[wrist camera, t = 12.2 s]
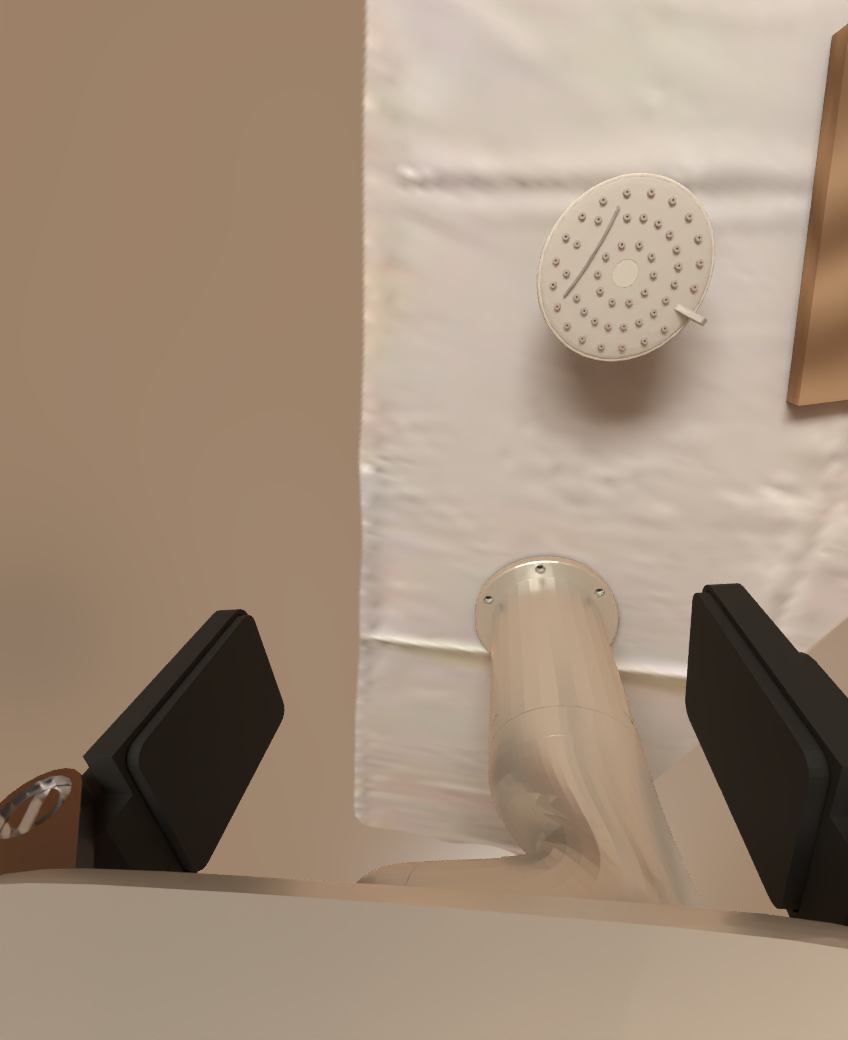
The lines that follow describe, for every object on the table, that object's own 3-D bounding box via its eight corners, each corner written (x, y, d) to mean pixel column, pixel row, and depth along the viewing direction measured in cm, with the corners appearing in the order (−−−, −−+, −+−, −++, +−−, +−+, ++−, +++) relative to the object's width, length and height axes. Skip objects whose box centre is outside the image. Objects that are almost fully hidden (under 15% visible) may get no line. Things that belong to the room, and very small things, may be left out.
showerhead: (650, 398, 29) (506, 311, 28) (622, 379, 35) (505, 308, 34) (774, 236, 25) (610, 128, 24) (717, 248, 31) (586, 163, 30)
